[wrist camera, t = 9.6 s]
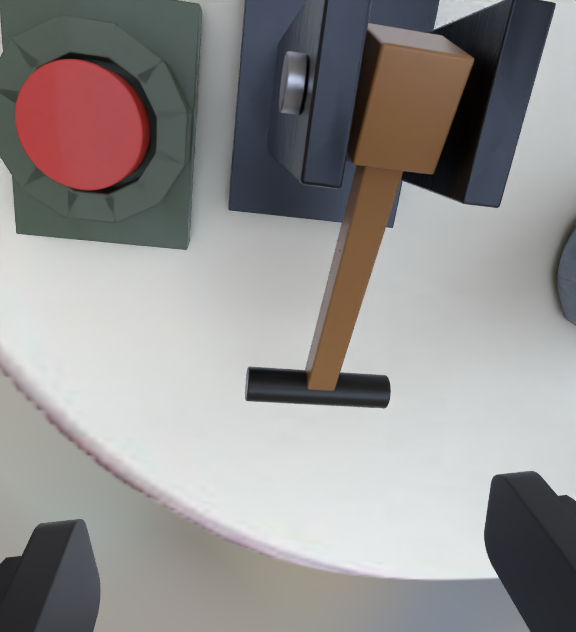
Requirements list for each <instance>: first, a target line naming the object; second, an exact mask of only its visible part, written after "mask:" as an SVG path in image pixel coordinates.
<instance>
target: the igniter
mask: <svg viewBox="0 0 576 632" xmlns="http://www.w3.org/2000/svg"><path fill="white" fill-rule="evenodd" d="M0 16H1V30H2V44H3V53H2V55H1V57H0V157H1V159H2V160H3V162H4V163H5V165H6V166H7V168H8V170H9V171H10V173H11V174H12V180H13V194H14V208H15V222H16V233H17V234H26V235H36V236H47V237H57V238H68V239H78V240H88V241H99V242H109V243H120V244H130V245H141V246H151V247H162V248H172V249H183V250H187V248H188V245H189V241H190V222H191V204H192V186H193V168H194V150H195V132H196V114H197V96H198V77H199V59H200V41H201V23H202V11H201V7H200V4H197V3H191V2H185V1H179V0H0ZM61 59H79V60H84V61H88V62H91V63H94V64H97V65H99V66H102V67H104V68H107V69H109V70H111V71H113V72H115V73H116V74H118V75H119V76H121V77H122V78H123V79H125V80H126V81H127V82H128V83H129V84H130V85H131V86H132V87H133V88H134V90H135V91H136V92H137V94H138V95H139V97H140V98H141V100H142V102H143V104H144V106H145V109H146V111H147V114H148V118H149V124H150V142H149V146H148V150H147V153H146V156H145V157H144V159H143V161H142V163H141V164H140V165H139V167H138V168H137V169H136V170H135V171H134V172H133V173H132V174H130V175H129V176H128V177H126V178H124V179H123V180H121V181H119V182H118V183H116V184H114V185H112V186H109V187H107V188H103V189H98V190H80V189H74V188H71V187H67V186H65V185H62V184H60V183H58V182H56V181H54V180H53V179H51V178H49V177H48V176H47V175H45V174H44V173H43V172H42V171H41V170H40V169H39V168H37V167H36V165H35V164H34V163H33V162H32V161H31V159H30V158H29V156H28V155H27V154H26V152H25V150H24V148H23V146H22V144H21V142H20V139H19V137H18V133H17V129H16V122H15V108H16V101H17V98H18V94H19V92H20V90H21V87H22V86H23V84H24V82H25V81H26V79H27V78H28V77H29V76H30V75H31V74H32V73H33V72H34V71H35V70H37V69H38V68H40V67H41V66H43V65H45V64H47V63H50V62H52V61H56V60H61Z"/></svg>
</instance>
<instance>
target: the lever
mask: <svg viewBox="0 0 576 632" xmlns="http://www.w3.org/2000/svg"><path fill="white" fill-rule="evenodd" d="M473 63H474V58H473V57H472V56H470V55H469V54H468V53H466V52H465V51H463V50H462V49H461V48H459V47H458V46H456V45H455V44H453V43H452V42H451V41H449V40H448V39H446V38H445V37H443V36H441V35H436V34H430V33H424V32H418V31H412V30H406V29H400V28H394V27H388V26H382V25H377V24H371V23H368V28H367V34H366V41H365V47H364V53H363V59H362V65H361V72H360V78H359V84H358V90H357V96H356V102H355V109H354V115H353V121H352V127H351V133H350V139H349V146H348V153H349V156H350V158H351V161H352V163H353V164H354V165H356V169H355V173H354V177H353V181H352V185H351V189H350V193H349V197H348V201H347V205H346V209H345V213H344V217H343V221H342V225H341V229H340V233H339V237H338V241H337V245H336V249H335V253H334V257H333V261H332V265H331V269H330V273H329V277H328V281H327V285H326V289H325V293H324V297H323V301H322V305H321V309H320V313H319V317H318V321H317V325H316V329H315V333H314V337H313V341H312V345H311V349H310V353H309V357H308V361H307V365H306V369H305V370H293V369H277V368H261V367H248V369H247V374H246V386H245V399H246V401H256V402H275V403H294V404H312V405H331V406H350V407H369V408H386V407H387V406H388V403H389V400H390V392H391V390H390V382H389V379H388V377H387V376H385V375H372V374H357V373H341V372H340V371H341V367H342V364H343V361H344V358H345V355H346V352H347V348H348V345H349V342H350V339H351V336H352V333H353V329H354V326H355V323H356V320H357V317H358V314H359V310H360V307H361V304H362V301H363V298H364V295H365V291H366V288H367V285H368V282H369V279H370V276H371V272H372V269H373V266H374V263H375V260H376V257H377V253H378V250H379V247H380V244H381V241H382V238H383V234H384V231H385V228H386V225H387V222H388V219H389V215H390V212H391V209H392V206H393V203H394V200H395V196H396V193H397V190H398V187H399V184H400V181H401V177H402V174H403V171H408V172H416V173H424V174H433V173H434V172H435V169H436V166H437V163H438V161H439V158H440V155H441V152H442V149H443V147H444V144H445V141H446V138H447V135H448V133H449V130H450V127H451V124H452V121H453V119H454V116H455V113H456V110H457V107H458V105H459V102H460V99H461V96H462V93H463V91H464V88H465V85H466V82H467V79H468V77H469V74H470V71H471V68H472V66H473Z"/></svg>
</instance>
